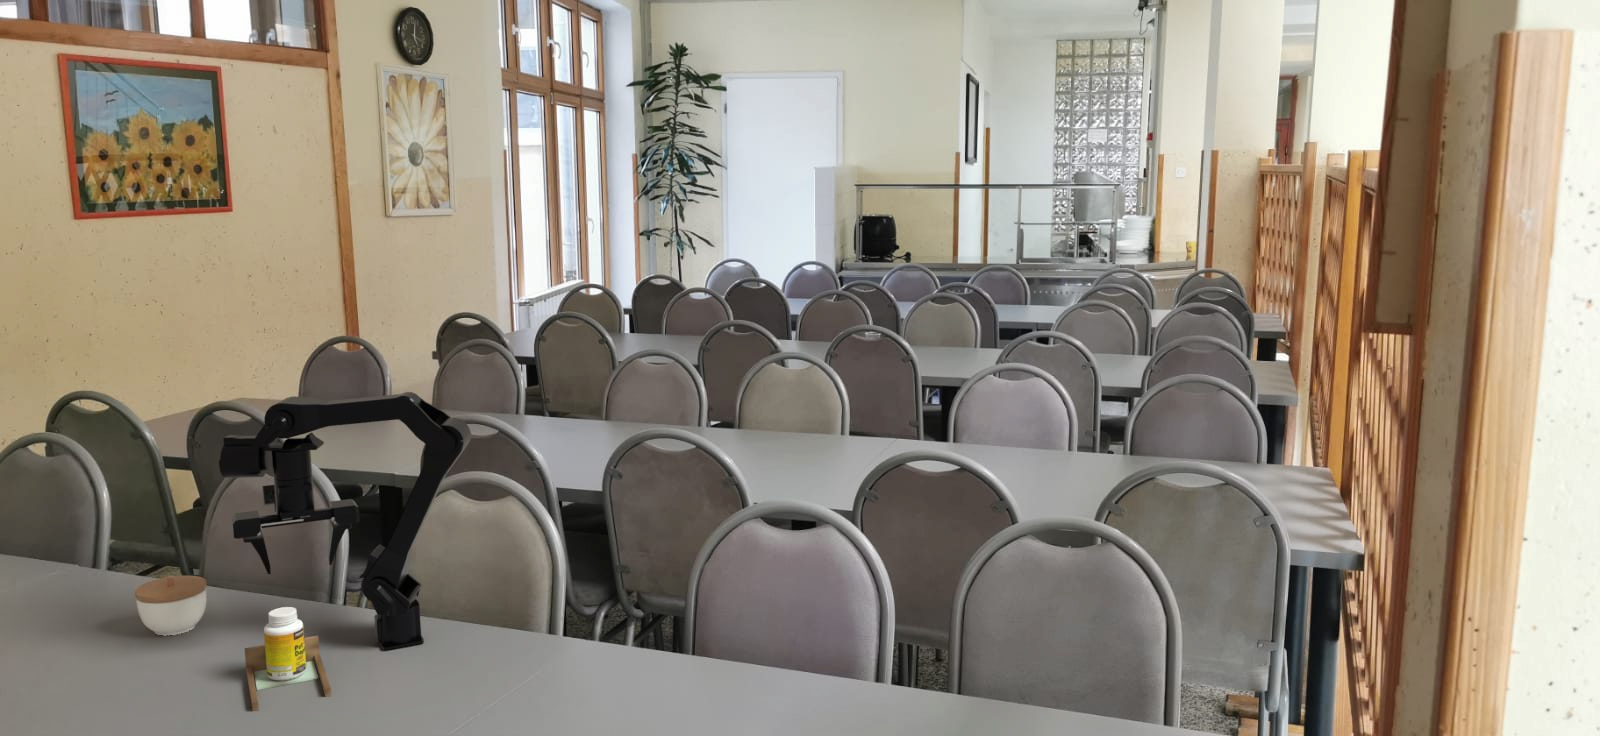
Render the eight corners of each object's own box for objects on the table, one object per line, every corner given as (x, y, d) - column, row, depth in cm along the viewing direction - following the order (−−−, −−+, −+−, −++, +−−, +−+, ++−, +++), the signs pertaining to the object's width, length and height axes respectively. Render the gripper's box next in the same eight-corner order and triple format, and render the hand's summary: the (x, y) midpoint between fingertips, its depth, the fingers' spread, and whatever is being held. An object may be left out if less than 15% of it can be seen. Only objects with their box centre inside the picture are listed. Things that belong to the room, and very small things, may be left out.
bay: (319, 659, 186) (317, 635, 185) (331, 695, 173) (329, 670, 172) (246, 672, 181) (244, 648, 180) (252, 711, 168) (250, 685, 167)
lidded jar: (223, 625, 200) (218, 573, 199) (161, 646, 191) (155, 592, 190) (187, 613, 206) (183, 562, 204) (126, 633, 197) (120, 580, 195)
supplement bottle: (300, 681, 177) (295, 617, 175) (262, 683, 176) (257, 619, 175) (311, 665, 183) (306, 603, 181) (274, 667, 182) (269, 605, 180)
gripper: (347, 458, 199) (353, 546, 201) (226, 472, 190) (234, 563, 192) (357, 473, 189) (363, 565, 191) (229, 488, 180) (237, 584, 183)
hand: (300, 568), depth 190 cm, fingers open, 9 cm apart
